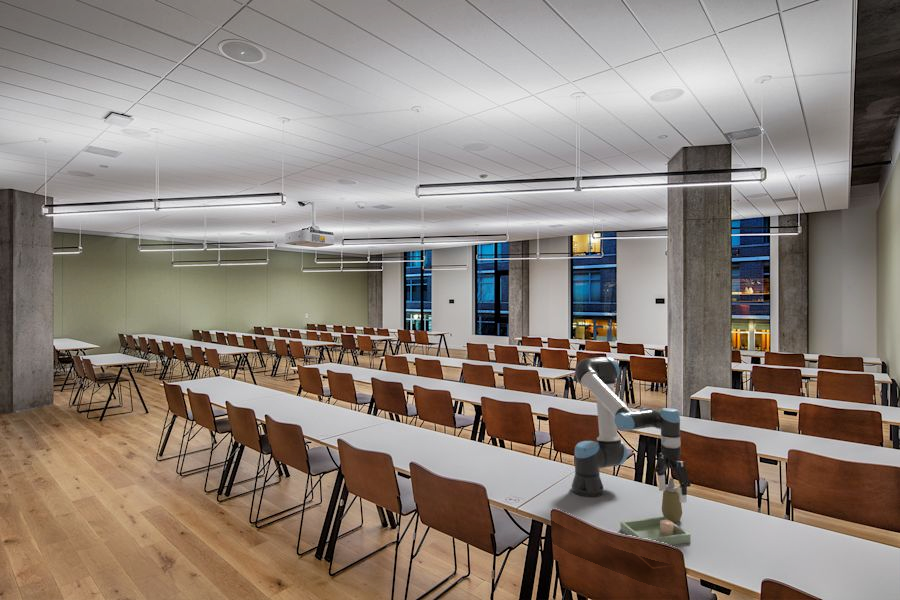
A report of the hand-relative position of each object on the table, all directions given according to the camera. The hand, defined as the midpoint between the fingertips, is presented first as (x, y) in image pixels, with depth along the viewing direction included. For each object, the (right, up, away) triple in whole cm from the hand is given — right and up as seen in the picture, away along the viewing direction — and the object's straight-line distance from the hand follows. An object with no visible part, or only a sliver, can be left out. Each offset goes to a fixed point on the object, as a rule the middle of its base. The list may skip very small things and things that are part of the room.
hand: (672, 496), depth 209 cm
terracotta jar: (-8, -10, -13) cm, 18 cm away
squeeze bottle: (0, -11, 0) cm, 11 cm away
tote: (-13, -11, -14) cm, 22 cm away
